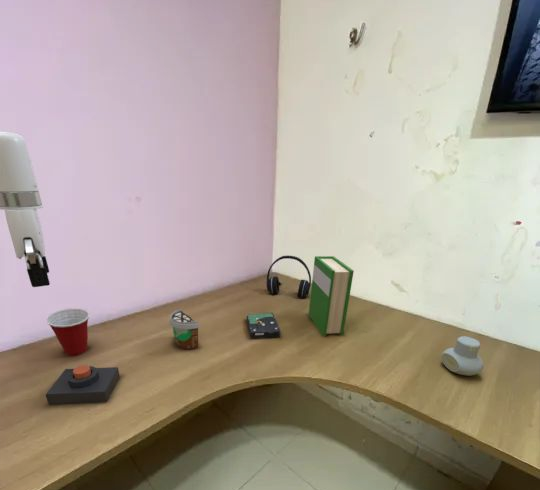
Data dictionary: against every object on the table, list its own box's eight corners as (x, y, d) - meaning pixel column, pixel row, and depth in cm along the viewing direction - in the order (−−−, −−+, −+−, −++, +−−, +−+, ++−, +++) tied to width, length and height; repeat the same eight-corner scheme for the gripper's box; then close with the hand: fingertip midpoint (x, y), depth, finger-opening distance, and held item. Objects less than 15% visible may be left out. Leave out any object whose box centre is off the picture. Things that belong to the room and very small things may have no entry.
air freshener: (484, 379, 90) (497, 349, 86) (460, 381, 88) (471, 352, 84) (457, 358, 99) (466, 331, 95) (434, 360, 98) (443, 332, 94)
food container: (165, 339, 102) (162, 312, 98) (182, 334, 106) (180, 307, 102) (182, 356, 94) (179, 327, 90) (200, 349, 98) (198, 321, 93)
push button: (71, 380, 75) (70, 374, 74) (78, 371, 78) (76, 365, 77) (87, 379, 75) (86, 373, 74) (93, 370, 78) (92, 364, 78)
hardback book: (343, 335, 110) (353, 270, 100) (323, 336, 109) (332, 270, 99) (326, 314, 126) (333, 256, 116) (308, 314, 124) (314, 256, 114)
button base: (48, 404, 73) (43, 388, 71) (68, 378, 82) (63, 363, 80) (107, 402, 75) (103, 385, 73) (119, 376, 84) (116, 361, 82)
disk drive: (280, 338, 107) (272, 318, 120) (281, 330, 106) (272, 311, 119) (250, 339, 105) (246, 319, 118) (251, 332, 104) (246, 313, 117)
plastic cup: (68, 365, 87) (58, 327, 82) (48, 353, 92) (37, 317, 87) (104, 348, 96) (97, 313, 91) (84, 338, 101) (76, 304, 96)
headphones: (264, 294, 142) (266, 255, 134) (268, 289, 148) (270, 252, 140) (308, 300, 138) (312, 260, 130) (310, 295, 144) (314, 256, 136)
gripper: (0, 196, 68) (23, 271, 76) (-11, 205, 55) (18, 294, 63) (41, 196, 72) (59, 267, 79) (40, 204, 59) (62, 288, 66)
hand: (41, 279), depth 71 cm, fingers open, 9 cm apart
